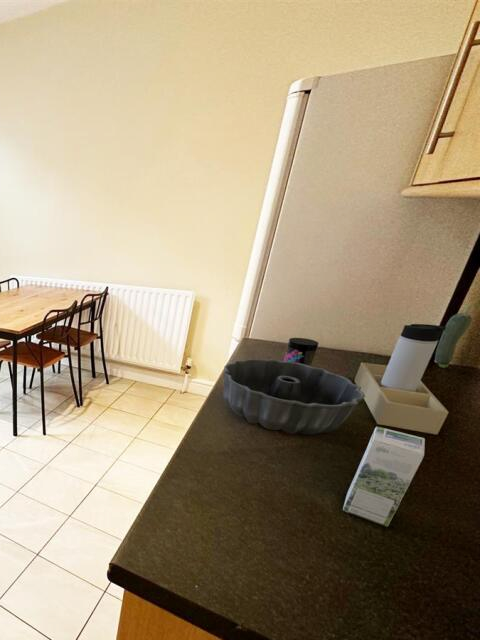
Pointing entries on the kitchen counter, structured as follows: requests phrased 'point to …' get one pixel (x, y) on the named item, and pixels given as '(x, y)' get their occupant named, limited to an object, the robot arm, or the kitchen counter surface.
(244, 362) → the bundt pan
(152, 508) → the kitchen counter surface
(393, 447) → the syrup box
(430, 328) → the travel mug
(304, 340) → the supplement container
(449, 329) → the vegetable
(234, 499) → the kitchen counter surface
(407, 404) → the organiser
